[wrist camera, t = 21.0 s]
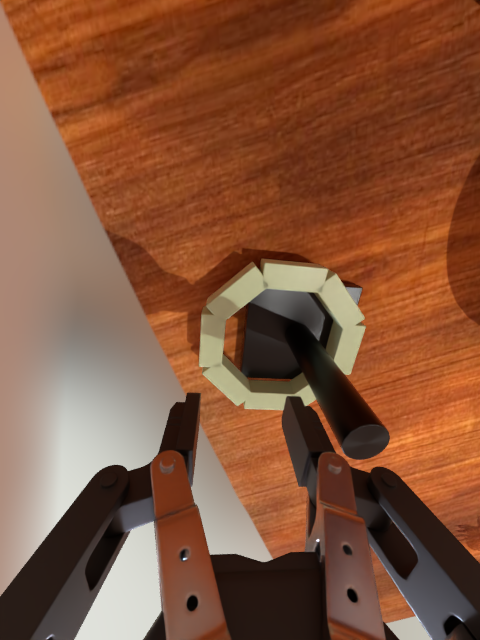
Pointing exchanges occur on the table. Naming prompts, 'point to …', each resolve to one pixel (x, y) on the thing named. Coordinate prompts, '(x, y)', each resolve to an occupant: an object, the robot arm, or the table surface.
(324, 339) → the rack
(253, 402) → the ring
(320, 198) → the table surface
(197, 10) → the table surface
